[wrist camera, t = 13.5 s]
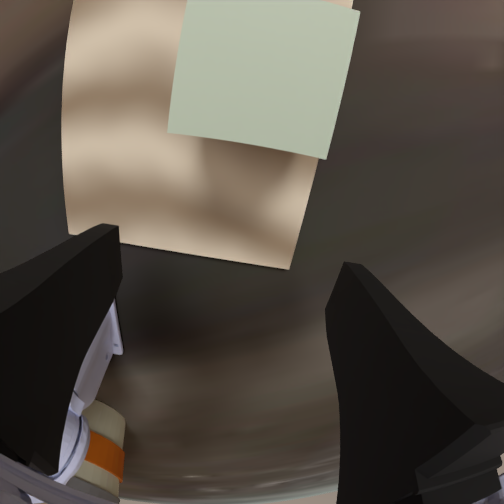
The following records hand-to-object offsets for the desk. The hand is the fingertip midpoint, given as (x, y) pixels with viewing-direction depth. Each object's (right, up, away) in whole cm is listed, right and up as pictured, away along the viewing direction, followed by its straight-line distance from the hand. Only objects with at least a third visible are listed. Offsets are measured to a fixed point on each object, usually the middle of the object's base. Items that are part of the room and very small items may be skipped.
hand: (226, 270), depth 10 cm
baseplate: (-3, +9, +7) cm, 12 cm away
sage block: (+1, +8, +1) cm, 8 cm away
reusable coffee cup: (-22, -23, +28) cm, 42 cm away
